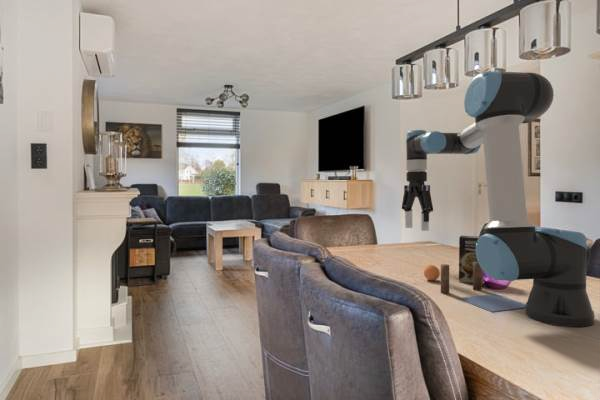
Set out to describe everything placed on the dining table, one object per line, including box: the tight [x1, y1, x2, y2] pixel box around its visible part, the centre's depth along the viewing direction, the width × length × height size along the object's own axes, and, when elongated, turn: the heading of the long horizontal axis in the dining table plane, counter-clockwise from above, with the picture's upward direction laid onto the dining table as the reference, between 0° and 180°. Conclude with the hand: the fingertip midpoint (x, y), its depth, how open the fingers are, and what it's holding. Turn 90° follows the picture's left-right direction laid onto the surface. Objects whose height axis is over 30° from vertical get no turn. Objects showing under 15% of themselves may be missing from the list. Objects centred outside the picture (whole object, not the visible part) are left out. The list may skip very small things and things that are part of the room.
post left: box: [440, 263, 450, 295], centre depth 130 cm, size 3×3×9 cm
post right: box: [472, 262, 483, 291], centre depth 134 cm, size 3×3×9 cm
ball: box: [423, 264, 441, 282], centre depth 148 cm, size 6×6×6 cm
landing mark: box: [457, 293, 526, 313], centre depth 119 cm, size 14×14×1 cm
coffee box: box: [458, 235, 485, 285], centre depth 146 cm, size 9×6×16 cm
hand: (416, 229), depth 156 cm, fingers open, 10 cm apart
